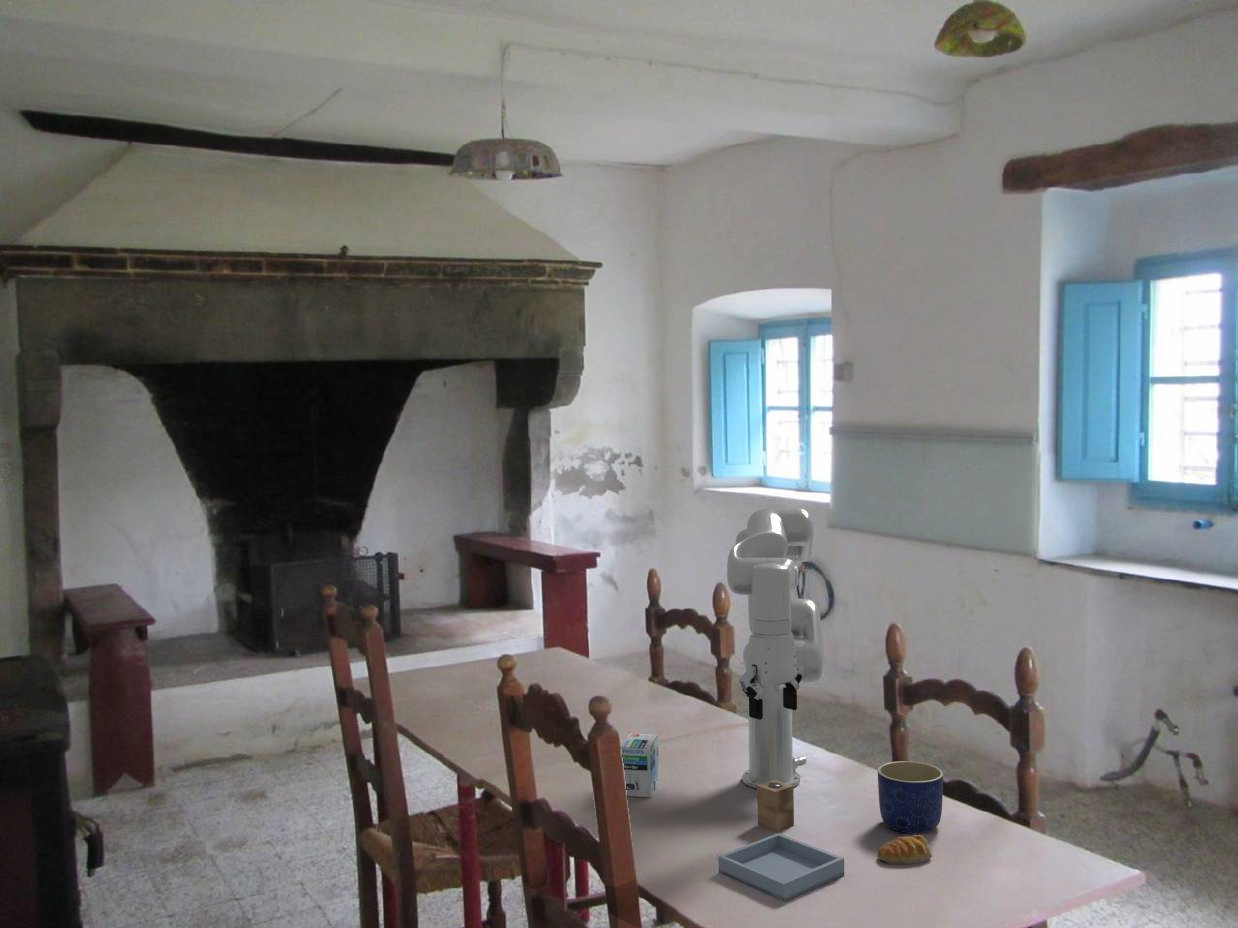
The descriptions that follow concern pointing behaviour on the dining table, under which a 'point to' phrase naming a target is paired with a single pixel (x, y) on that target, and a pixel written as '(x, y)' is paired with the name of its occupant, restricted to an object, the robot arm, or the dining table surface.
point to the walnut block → (775, 805)
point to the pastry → (906, 850)
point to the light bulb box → (641, 764)
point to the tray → (781, 866)
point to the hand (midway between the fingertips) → (773, 713)
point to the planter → (910, 796)
